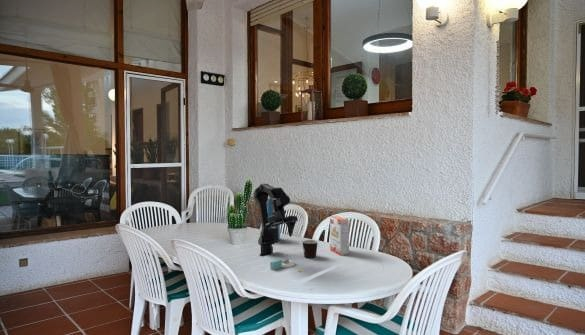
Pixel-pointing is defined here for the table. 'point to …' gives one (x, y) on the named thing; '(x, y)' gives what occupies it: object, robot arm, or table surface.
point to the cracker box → (339, 235)
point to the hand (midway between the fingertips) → (283, 238)
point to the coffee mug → (310, 248)
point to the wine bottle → (270, 213)
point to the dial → (281, 263)
